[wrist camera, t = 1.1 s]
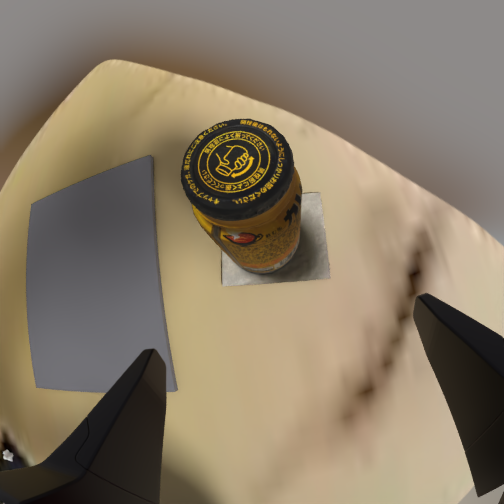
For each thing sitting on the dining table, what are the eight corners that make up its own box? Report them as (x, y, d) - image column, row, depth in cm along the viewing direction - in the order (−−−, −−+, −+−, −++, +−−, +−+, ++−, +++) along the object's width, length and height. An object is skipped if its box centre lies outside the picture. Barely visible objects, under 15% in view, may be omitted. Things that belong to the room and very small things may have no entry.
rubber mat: (177, 390, 22) (175, 391, 21) (39, 387, 23) (36, 387, 23) (153, 157, 28) (150, 154, 27) (34, 205, 29) (31, 204, 29)
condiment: (221, 202, 25) (169, 115, 14) (319, 193, 24) (334, 95, 13) (223, 286, 23) (157, 250, 12) (330, 279, 22) (365, 233, 11)
